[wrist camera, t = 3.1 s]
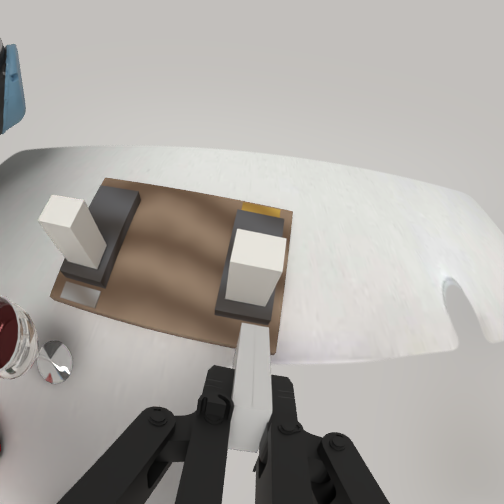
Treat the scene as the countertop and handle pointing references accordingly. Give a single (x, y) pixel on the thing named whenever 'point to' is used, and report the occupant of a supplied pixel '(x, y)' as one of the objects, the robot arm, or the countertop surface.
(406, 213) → the countertop surface
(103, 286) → the switch unit
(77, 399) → the countertop surface
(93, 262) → the lever
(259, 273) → the lever
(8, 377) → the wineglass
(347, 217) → the countertop surface
